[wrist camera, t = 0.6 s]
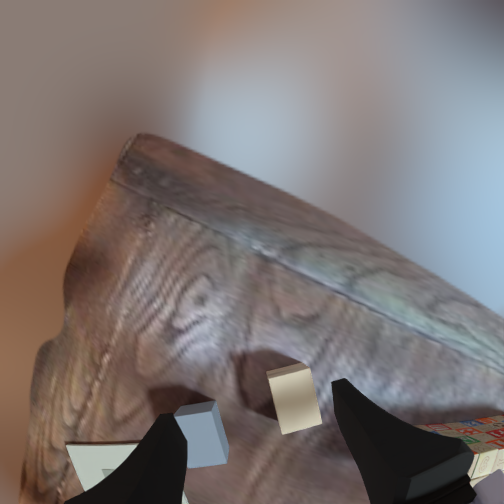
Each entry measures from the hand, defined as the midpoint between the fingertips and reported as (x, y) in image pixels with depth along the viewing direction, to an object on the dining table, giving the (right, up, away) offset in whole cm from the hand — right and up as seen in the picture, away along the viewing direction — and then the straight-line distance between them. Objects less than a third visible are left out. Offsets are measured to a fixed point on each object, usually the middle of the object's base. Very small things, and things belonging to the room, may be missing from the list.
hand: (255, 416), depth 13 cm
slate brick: (-5, -12, +18) cm, 23 cm away
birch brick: (+4, -8, +19) cm, 21 cm away
